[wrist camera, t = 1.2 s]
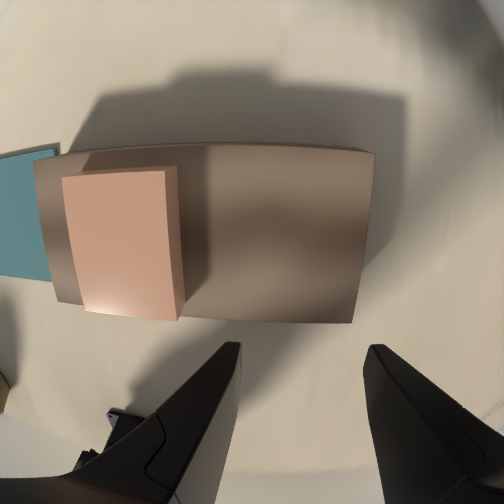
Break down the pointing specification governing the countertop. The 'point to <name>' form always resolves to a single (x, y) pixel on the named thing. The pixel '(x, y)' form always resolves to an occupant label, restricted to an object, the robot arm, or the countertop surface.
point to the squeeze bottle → (3, 393)
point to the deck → (241, 225)
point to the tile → (127, 240)
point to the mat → (21, 219)
